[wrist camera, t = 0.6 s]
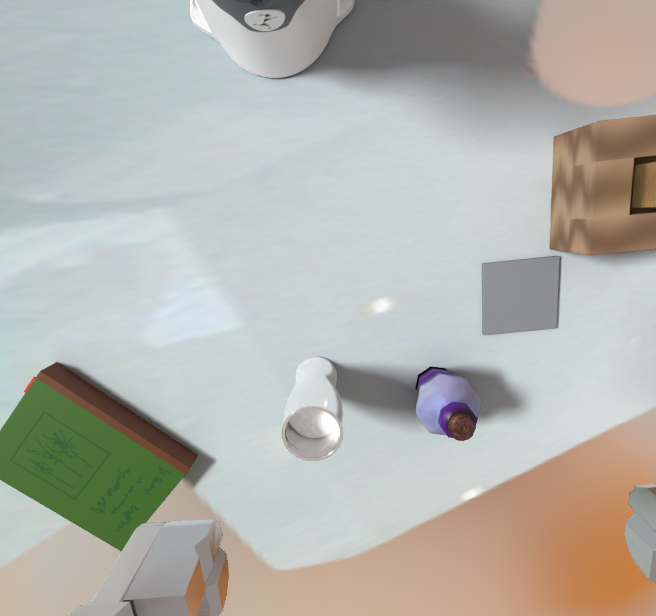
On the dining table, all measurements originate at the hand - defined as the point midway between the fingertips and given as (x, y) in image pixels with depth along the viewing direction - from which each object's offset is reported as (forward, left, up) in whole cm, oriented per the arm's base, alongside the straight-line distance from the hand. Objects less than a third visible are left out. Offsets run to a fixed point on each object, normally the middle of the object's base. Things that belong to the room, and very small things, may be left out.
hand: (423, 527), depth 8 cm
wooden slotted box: (-6, +35, -45) cm, 57 cm away
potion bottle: (+19, +12, -45) cm, 50 cm away
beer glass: (+16, -5, -45) cm, 48 cm away
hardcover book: (+25, -40, -45) cm, 65 cm away
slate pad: (+7, +24, -45) cm, 51 cm away
